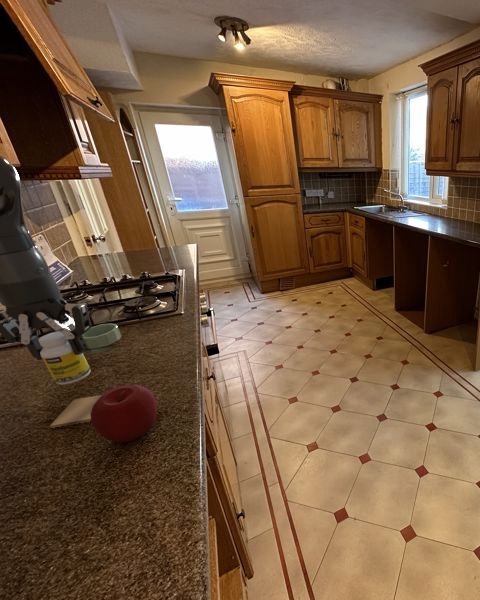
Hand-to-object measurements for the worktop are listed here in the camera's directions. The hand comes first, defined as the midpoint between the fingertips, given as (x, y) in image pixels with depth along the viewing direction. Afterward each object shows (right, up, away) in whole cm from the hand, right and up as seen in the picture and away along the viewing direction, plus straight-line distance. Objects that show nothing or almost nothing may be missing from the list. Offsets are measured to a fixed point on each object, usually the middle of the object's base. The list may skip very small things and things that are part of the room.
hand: (62, 354), depth 64 cm
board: (0, -13, +6) cm, 14 cm away
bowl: (-19, -2, +29) cm, 35 cm away
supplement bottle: (0, -5, +2) cm, 6 cm away
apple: (+14, -16, 0) cm, 21 cm away
